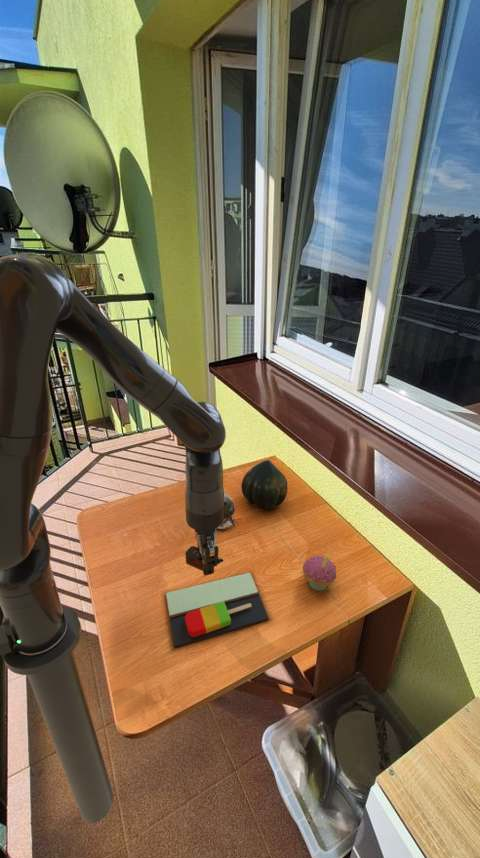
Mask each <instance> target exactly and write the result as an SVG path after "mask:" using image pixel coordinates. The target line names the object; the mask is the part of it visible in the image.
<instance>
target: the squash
mask: <svg viewBox="0 0 480 858" xmlns="http://www.w3.org/2000/svg"><path fill="white" fill-rule="evenodd" d="M240 485H241V493H242V495H243V497H244V498H245V499H246V500H247V502H248V504H249V505H252V506H254V505H255V506H256V507H263V509H264V510H266V511H272V510H273V509H274V508H275V507H278V506H281V505H282V504H283V502H284V501H285V499H286V497H287V494H288V480H287V477H286V476H285V475H284V474H283V473H282V471H281V470H280V469H279V468H278V467H277V466H276V465H275V464H274V463H273V461H271V460H270V459H266V460H263V461H261V462H259V463H257V464H256V465H253V466H252V467H251V468H250V469H248V471H247V472H245V474H244V476H243V478H242V481H241V484H240Z"/></svg>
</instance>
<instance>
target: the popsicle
mask: <svg viewBox="0 0 480 858" xmlns="http://www.w3.org/2000/svg"><path fill="white" fill-rule="evenodd" d="M251 606H252V605H251V603H248V604H245V605H242V606H239V607H236V608H233V609H230V610H227V608H226V605H225V603H224V601H223V602H220V603H216V604H213V605H210V606H207V607H204V608H201V609H198V610H194V611H191V612H189V613H187V614H186V616H185V623H186V627H187V631H188V634H189V635H190V637H197V636H200V635H203V634H206V633H208V632H211V631H214V630H217V629H220V628H223V627H226V626H229V625H230V624H231V618H230V616H229V614H232V613H235V612H238V611H241V610H244V609H247V608H250V607H251Z"/></svg>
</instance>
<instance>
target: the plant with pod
mask: <svg viewBox="0 0 480 858" xmlns="http://www.w3.org/2000/svg"><path fill="white" fill-rule="evenodd" d="M235 506H236V505H235V503H234V500H233V499H232V497H231V496H230V495H228V494H227V493H225V492H224V519H223V522H222V523H221V525H220V526H219V527H217V528H216V529H217V530H223V531H224V530H227V529H229V528H230V527H232V526H234V527H237V524H236V523H235V520H236V519H235V518H234V517H232V516H233V515H234V514H235V512H236V509H235Z"/></svg>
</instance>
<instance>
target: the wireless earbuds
mask: <svg viewBox="0 0 480 858" xmlns="http://www.w3.org/2000/svg"><path fill="white" fill-rule="evenodd" d="M184 557H185V564H186V565H188V566H190V567H193V568H195V569H197V570H199V571H202V572H203V563H202V560H203V559H202V554H201V553H200V551H199V548H198V546H194V545H191V546H190V547H189V548H188V549H186V550H185V556H184ZM224 561H225V560H224V559H223V558H220V556H218V562H217V563H218V564H217V565H220V564H221V563H223V562H224ZM215 567H216V566H214V568H215Z"/></svg>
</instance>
